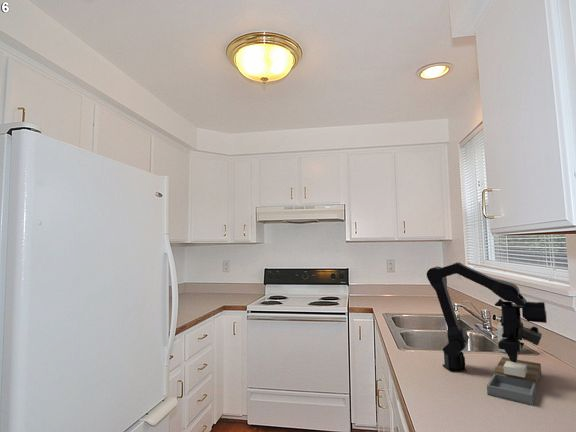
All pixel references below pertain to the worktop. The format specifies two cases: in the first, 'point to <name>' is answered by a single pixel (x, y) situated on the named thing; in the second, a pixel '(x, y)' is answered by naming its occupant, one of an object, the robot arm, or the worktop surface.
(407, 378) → the worktop surface
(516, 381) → the box
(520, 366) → the tile
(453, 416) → the worktop surface
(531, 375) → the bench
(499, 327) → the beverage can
